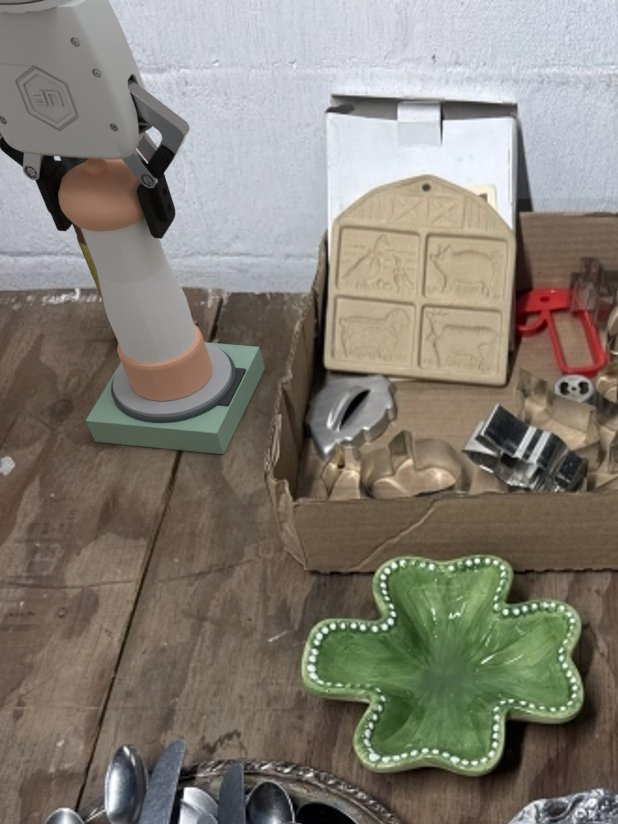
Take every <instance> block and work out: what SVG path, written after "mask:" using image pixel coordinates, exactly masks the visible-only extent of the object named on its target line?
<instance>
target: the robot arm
mask: <svg viewBox="0 0 618 824" xmlns="http://www.w3.org/2000/svg"><path fill="white" fill-rule="evenodd" d="M141 75H142V74H141V73H140V70H139V67H138V64H137V62H136V60H135V56H134V54H133V52H132V49H131V46H130V44H129V42H128V39H127V37H126V35H125V32H124V30H123V27H122V25H121V23H120V21H119V18H118V16H117V15H116V12H115V10H114V8H113V6H112V5H111V1H110V0H0V150H1V151H2V152H3V153H4V154H6V156H7V157H9V158H10V159H12V160H13V161H14V162H15V163H16V164H18V165H19V166H20V167H22V172H23V174H24V176H26V178H28V179H29V180H31V181H35V183H36V185H37V188H38V190H39V193H40V196H41V198H42V200H43V202H44V205H45V208H46V210H47V212H48V213H49V214H50V215H51V218H52V220H53V223H54V225H55V228H56V230H57V231H58V232H67V231H68V230H69V229H70V228H71V227H72V226H73V225H72V224H73V222H72V221H70V220H69V219H68V218H67V217H66V215H65V214H64V213H63V212H62V210H61V207H60V204H59V197H58V193H59V189H60V185H61V181H62V178H63V177H64V176H65V174H66V173H67V170H66V167H65V165H63V163H62V161H61V159H60V160H59V159H55V157H59V156H60V157H75V158H90V159H108V160H119V159H122V160H123V161H124V163H125V164H126V165H127V166H128V167H129V169H130V170H131V171H132V172H133V174H134V175H135V176H136V177H137V179H138V180H139V181H140V182H141V183H140V185H139V186H138V188H137V195H138V198H139V201H140V204H141V207H142V210H143V213H144V216H145V219H146V222H147V225H148V227H149V230H150V233H151V235H152V236H153V237H154V238H159V240H160V239H161V240H162V239H163V238H164V236H165V235H166V233H167V231H168V230H169V229H170V227H171V225H172V224H173V222H174V220H175V218H176V207H175V204H174V200H173V197H172V194H171V191H170V188H169V185H168V181H167V178H166V175H165V172H166V171H167V170H168V168H169V167H170V165H171V164H172V163H173V161H174V159H175V158H176V157H177V155H178V153H179V151H180V149H181V147H182V146H183V144H184V141H185V140H186V138H187V136H188V134H189V132H190V125H189V123H188V121H186V120H185V119H184V118H182V117H181V116H180V115H179V114H177V113H176V112H174V111H173V110H172V109H171V108H169V107H168V106H167V105H166V104H164V103H163V102H161V100H159V99H158V98H156V97H155V96H154V95H152V94H151V93H150V92H148V90H146V87H145V84H144V81H143V78H142V76H141ZM152 128H155V130H157V131H158V132H159V134H160V135H161V140H160V143H159V145H156V143H155V142H154V141H153V139H152V138H151V137H150V135H149V134H148V133H147V131H149V130H150V129H152ZM60 157H59V158H60Z"/></svg>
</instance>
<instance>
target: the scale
mask: <svg viewBox="0 0 618 824" xmlns="http://www.w3.org/2000/svg"><path fill="white" fill-rule="evenodd" d="M204 342H205V346H206V349H207V352H208V355H209V358H210V361H211V364H212V375H211V377H210V378H209V380H208V382H207V383H206V384H205V385H204V386H203V387H202V388H201V389H199V390H198V391H196V392H194V393H192V394H191V395H189V396H186V397H183V398H179V399H176V400H168V401H157V400H149V399H146V398H144V397H141V396H139V395H138V394H137V393H136V392H135V391H133V390H132V387H131V385H130V382H129V380H128V377H127V375H126V372H125V370H124V367H123V365H122V362H121V361H120V362H119V364H118V366H117V367H116V368H115V371H114V372H113V374H112V376H111V378H110V379H109V381H108V382H107V384H106V386H105V387H104V389H103V391H102V392H101V394H100V396H99V397H98V399H97V401H96V402H95V404H94V406H93V407H92V409H91V410H90V412H89V414H88V415H87V417H86V419H85V423H86V425H87V427H88V429H89V431H90V434H91V435H92V438H93V440H94V442H95V443H102V444H114V445H122V446H123V445H125V446H134V447H143V448H153V449H164V450H165V449H166V450H173V451H174V450H176V451H184V452H196V453H205V454H216V455H225V454H226V451H227V449H228V447H229V445H230V443H231V441H232V439H233V437H234V435H235V432H236V430H237V428H238V426H239V424H240V422H241V420H242V418H243V416H244V414H245V412H246V410H247V408H248V405H249V404H250V401H251V399H252V397H253V395H254V393H255V391H256V389H257V387H258V385H259V382H260V380H261V378H262V376H263V374H264V372H265V370H266V367H265V363H264V360H263V355H262V351H261V349H260V346H252V345H242V344H229V343H218V342H206V341H204Z"/></svg>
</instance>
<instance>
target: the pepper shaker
mask: <svg viewBox="0 0 618 824" xmlns="http://www.w3.org/2000/svg"><path fill="white" fill-rule="evenodd" d="M140 183H141V182H140V181H139V180H138V179H137V177H136V176H135V175H134V174H133V172H132V171H131V170H130V169H129V167H128V166H127V165H126V164H125V163H124V161H123V160H122V159H119V160H108V159H90V158H89V159H88V160H86V162H85V163H82V164H80V165H78V166H76V167H74V168H73V169H71V170H70V171H68V172H67V173H66V174H65V176H64V177H63V178H62V181H61V185H60V189H59V193H58V197H59V204H60V207H61V210H62V212H63V213H64V214H65V215H66V217H67V218H68V219H69V220H70V221H72V222H73V223H74V224H75V225H76V226H78V227H80V228H81V230H82V233H83V236H84V238H85V241H86V243H87V246H88V249H89V251H90V254H91V257H92V259H93V262H94V264H95V267H96V270H97V274H98V279H99V284H100V288H101V293H102V298H103V301H102V303H103V302H104V303H103V306H104V312H105V314H106V317H107V320H108V322H109V324H110V327H111V329H112V331H113V334H114V336H115V337H116V341H117V348H116V352H117V354H118V356H119V360H120V363H121V362H122V365H123V367H124V370H125V372H126V375H127V377H128V380H129V382H130V385H131V387H132V390H133V391H135V392H136V393H137V394H138V395H139V396H141V397H144V398H146V399H149V400H157V401H168V400H176V399H179V398H183V397H186V396H189V395H191V394H192V393H194V392H196V391H198V390H199V389H201V388H202V387H203V386H204V385H205V384H206V383H207V382H208V380H209V378H210V377H211V375H212V364H211V361H210V358H209V355H208V352H207V349H206V346H205V342H206V341H205V340H204V337H203V334H202V332H201V330H200V328H199V327H198V325H196V324H195V323H194V320H193V316H192V313H191V309H190V305H189V302H188V299H187V296H186V293H185V292H184V290H183V288H182V286H181V283H180V282H179V280H178V279H177V277H176V275H175V272H174V271H173V269H172V267H171V265H170V262H169V261H168V259H167V257H166V254H165V252H164V249H163V245H162V243H161V240H160V239H159V238H154V237H153V236H152V235H151V233H150V230H149V227H148V225H147V222H146V219H145V216H144V213H143V210H142V207H141V204H140V201H139V198H138V195H137V188H138V186H139V185H140ZM102 298H101V299H102Z"/></svg>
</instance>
